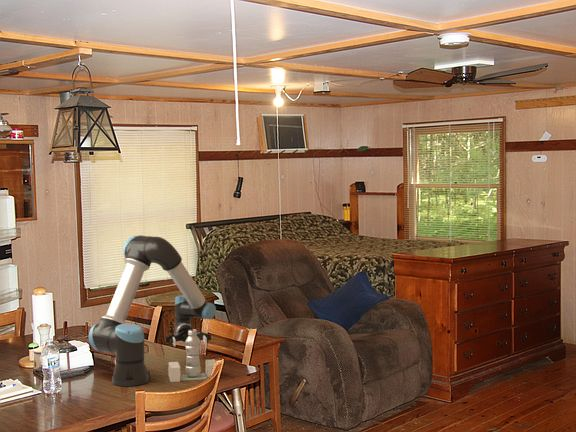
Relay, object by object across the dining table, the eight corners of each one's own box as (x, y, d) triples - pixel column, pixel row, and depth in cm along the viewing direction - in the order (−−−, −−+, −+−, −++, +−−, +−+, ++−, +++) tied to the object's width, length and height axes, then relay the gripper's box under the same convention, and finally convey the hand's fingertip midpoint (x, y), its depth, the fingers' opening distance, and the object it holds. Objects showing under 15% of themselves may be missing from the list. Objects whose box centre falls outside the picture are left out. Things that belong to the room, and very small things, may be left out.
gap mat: (179, 375, 332) (179, 374, 332) (204, 374, 334) (204, 373, 334) (181, 380, 324) (181, 379, 324) (207, 379, 327) (207, 378, 327)
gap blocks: (168, 376, 332) (168, 362, 331) (214, 372, 336) (214, 359, 336) (170, 382, 322) (170, 367, 322) (218, 378, 327) (218, 364, 326)
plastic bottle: (186, 374, 333) (185, 328, 331) (202, 374, 332) (201, 328, 331) (183, 378, 326) (183, 331, 325) (199, 378, 326) (199, 331, 325)
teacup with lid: (35, 367, 347) (35, 341, 347) (56, 366, 348) (56, 341, 348) (30, 374, 335) (29, 348, 335) (51, 373, 336) (51, 347, 336)
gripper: (212, 339, 362) (218, 349, 341) (158, 342, 356) (161, 352, 335) (212, 323, 361) (218, 332, 340) (158, 325, 355) (161, 335, 335)
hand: (190, 342), depth 338 cm, fingers open, 13 cm apart
